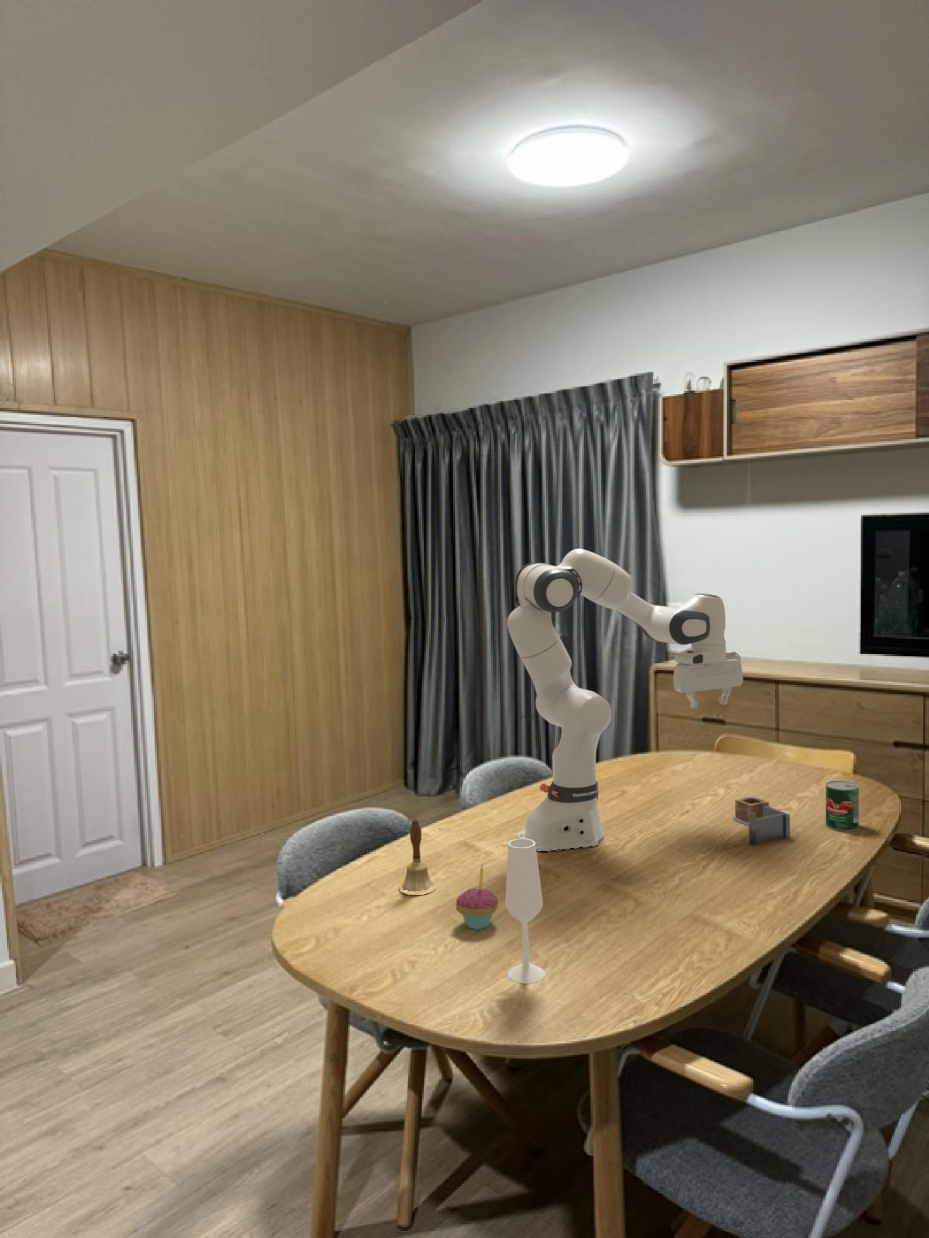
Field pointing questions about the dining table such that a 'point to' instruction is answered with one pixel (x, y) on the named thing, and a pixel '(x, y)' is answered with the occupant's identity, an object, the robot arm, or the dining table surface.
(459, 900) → the cupcake
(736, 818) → the mat
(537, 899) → the champagne flute
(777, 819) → the bent rail
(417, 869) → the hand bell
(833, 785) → the canned tomato
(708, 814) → the dining table surface
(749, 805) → the brown hollow square block
